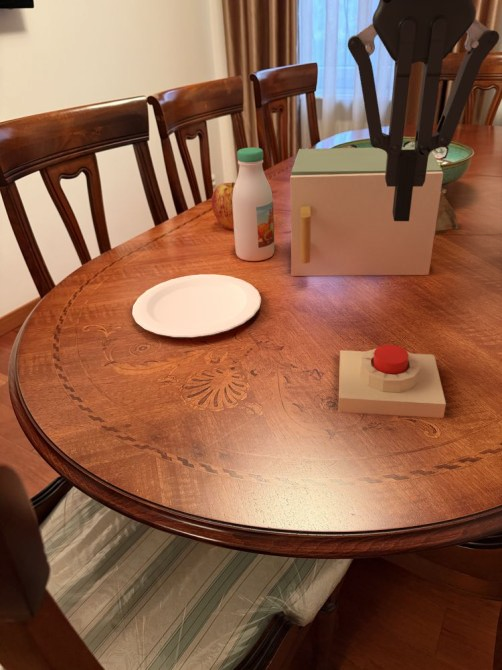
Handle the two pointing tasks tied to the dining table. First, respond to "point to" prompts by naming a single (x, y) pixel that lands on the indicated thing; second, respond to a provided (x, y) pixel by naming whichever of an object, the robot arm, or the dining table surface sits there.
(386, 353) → the button
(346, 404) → the button base
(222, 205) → the apple
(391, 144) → the robot arm
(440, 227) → the rock
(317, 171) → the cupboard
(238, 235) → the milk bottle
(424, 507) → the dining table surface
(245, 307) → the plate
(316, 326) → the dining table surface
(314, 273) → the door
